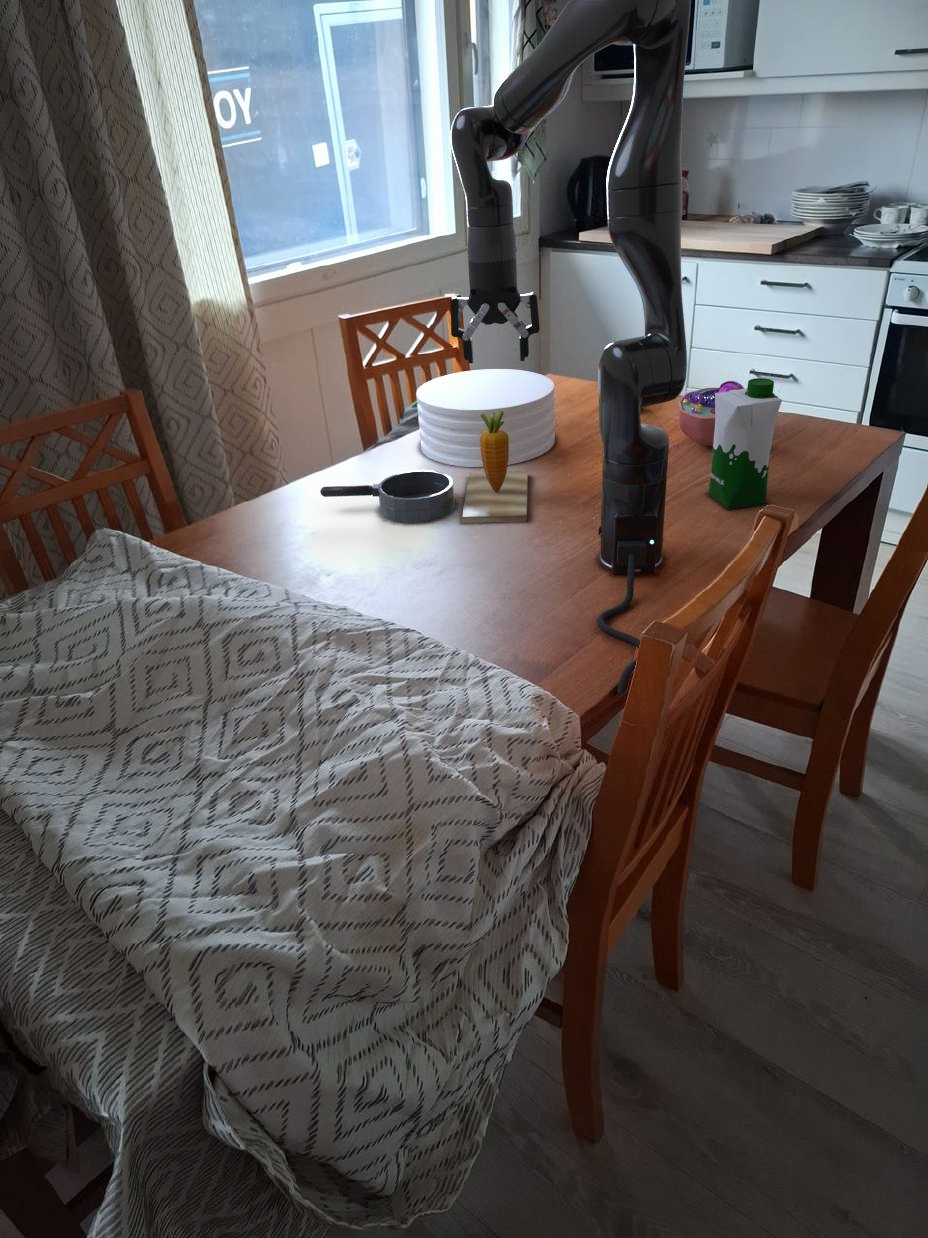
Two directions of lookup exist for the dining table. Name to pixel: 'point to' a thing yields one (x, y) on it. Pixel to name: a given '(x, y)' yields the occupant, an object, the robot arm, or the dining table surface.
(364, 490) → the pan handle
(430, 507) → the pan
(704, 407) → the cell model
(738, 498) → the milk carton
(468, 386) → the plate stack
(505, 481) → the board
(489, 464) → the carrot
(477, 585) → the dining table surface
